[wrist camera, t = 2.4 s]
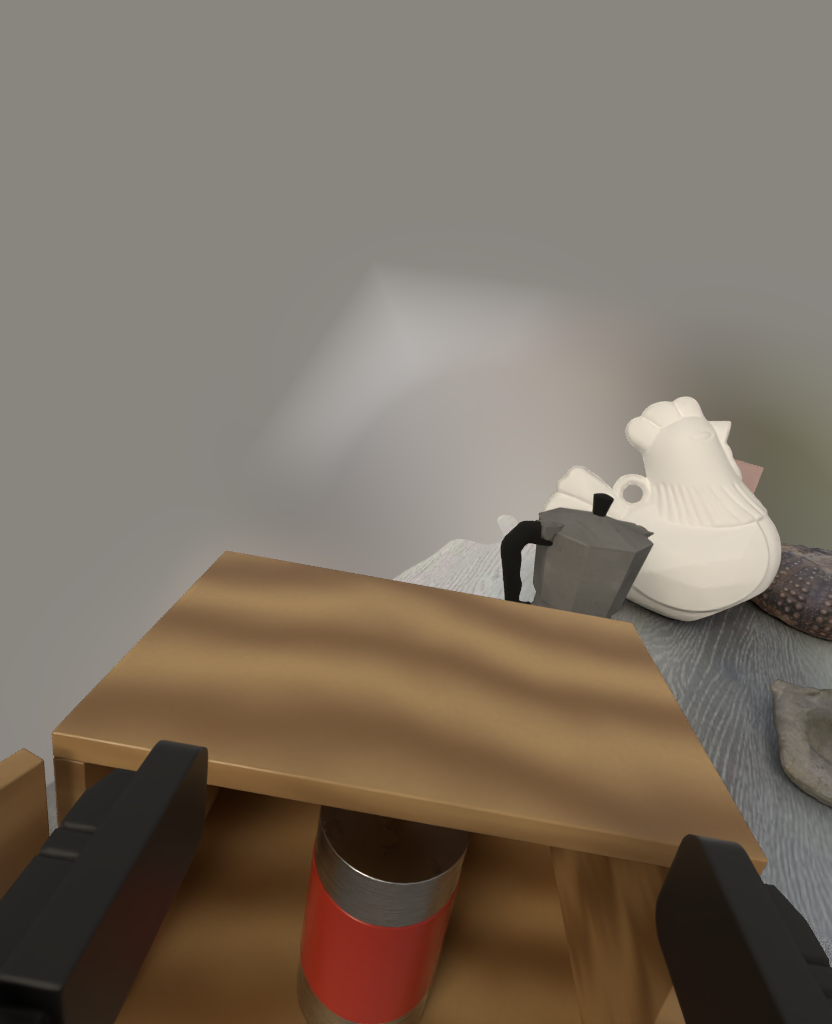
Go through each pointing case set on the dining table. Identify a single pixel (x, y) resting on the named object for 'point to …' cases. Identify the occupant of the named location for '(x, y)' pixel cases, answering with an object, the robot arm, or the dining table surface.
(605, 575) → the coffeepot
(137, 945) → the robot arm
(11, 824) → the cupboard door
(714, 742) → the dining table surface
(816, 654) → the dining table surface
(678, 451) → the decorative rooster
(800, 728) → the fossil
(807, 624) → the sea urchin shell
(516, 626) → the cupboard
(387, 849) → the can
